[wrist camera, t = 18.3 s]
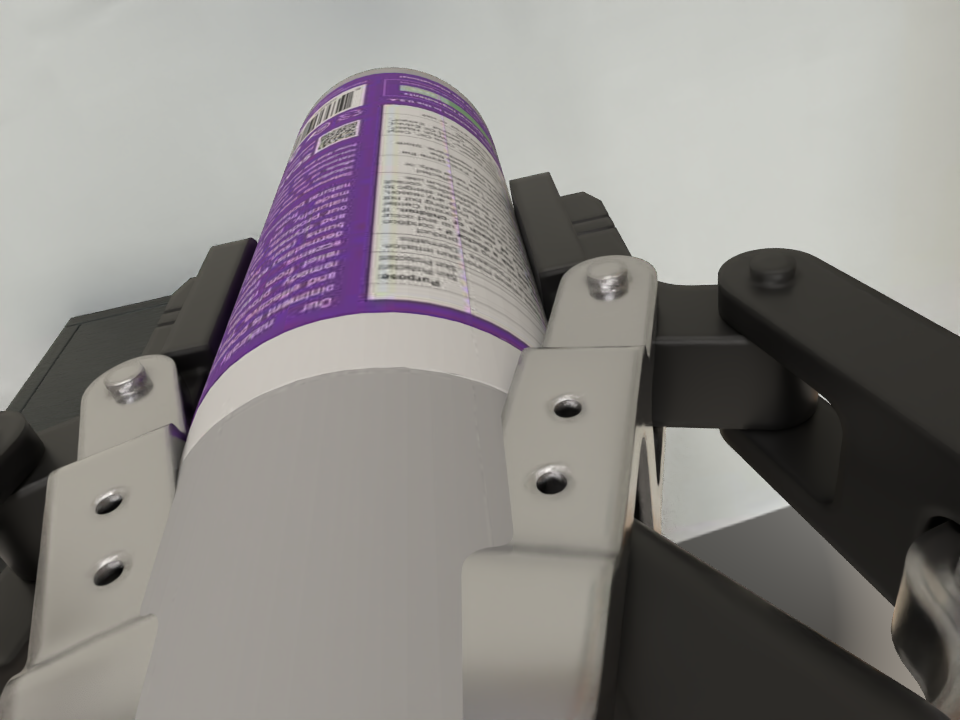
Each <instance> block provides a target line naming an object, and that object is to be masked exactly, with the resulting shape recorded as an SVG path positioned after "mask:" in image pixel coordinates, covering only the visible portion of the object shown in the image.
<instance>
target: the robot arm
mask: <svg viewBox="0 0 960 720" xmlns="http://www.w3.org/2000/svg"><path fill="white" fill-rule="evenodd" d="M509 182H510V190H511V195H512V201H513V206H514V212H515V216H516V219H517V222H518V226H519V229H520V232H521V235H522V239H523V242H524V245H525V249H526V252H527V255H528V259H529V262H530V265H531V269H532V272H533V275H534V279H535V282H536V285H537V289H538V292H539V295H540V299H541V302H542V305H543V309H544V312H545V315H546V318H547V321H548V325H547V329H546V332H545V336H544V339H543V343H542V346H541V347H527V348H524V349H523V351H522V352H521V355H520V357H519V360H518V363H517V366H516V370H515V373H514V376H513V379H512V382H511V385H510V388H509V392H508V395H507V398H506V401H505V404H504V407H503V410H502V413H501V422H502V431H503V440H504V449H505V458H506V467H507V476H508V486H509V495H510V504H511V513H512V522H513V538H512V540H511V541H510V542H509V543H508V544H506V545H503V546H496V547H488V548H484V549H481V550H478V551H475V552H474V553H472V554H471V555H469V556H468V557H467V559H466V560H465V561H464V563H463V566H462V572H461V587H462V677H463V720H960V337H959V336H958V335H956V334H954V333H952V332H950V331H949V330H947V329H945V328H943V327H941V326H940V325H938V324H936V323H934V322H932V321H931V320H929V319H927V318H925V317H923V316H922V315H920V314H918V313H916V312H914V311H913V310H911V309H909V308H907V307H905V306H903V305H902V304H900V303H898V302H896V301H894V300H893V299H891V298H889V297H887V296H885V295H884V294H882V293H880V292H878V291H876V290H875V289H873V288H871V287H869V286H867V285H866V284H864V283H862V282H860V281H858V280H857V279H855V278H853V277H851V276H849V275H848V274H846V273H844V272H842V271H840V270H838V269H837V268H835V267H833V266H831V265H829V264H828V263H826V262H824V261H822V260H820V259H819V258H817V257H815V256H813V255H810V254H808V253H805V252H802V251H797V250H792V249H784V248H766V249H758V250H753V251H748V252H745V253H742V254H739V255H737V256H735V257H733V258H731V259H729V260H728V261H726V262H725V263H724V264H723V265H722V267H721V268H720V270H719V272H718V285H693V286H691V285H673V284H668V283H663V282H660V281H657V272H656V270H655V268H654V267H653V266H652V265H651V264H650V263H648V262H647V261H645V260H643V259H640V258H637V257H632V256H631V254H630V252H629V250H628V249H627V247H626V245H625V243H624V241H623V240H622V238H621V236H620V234H619V232H618V230H617V229H616V228H615V226H614V223H613V221H612V220H611V218H610V217H609V215H608V212H607V211H606V209H605V207H604V205H603V203H602V202H601V200H599V199H597V198H595V197H593V196H591V195H589V194H587V193H585V192H579V193H575V194H570V195H566V196H561V197H560V195H559V193H558V191H557V188H556V186H555V184H554V182H553V179H552V177H551V175H550V173H549V172H546V173H541V174H537V175H532V176H528V177H523V178H519V179H514V180H510V181H509ZM257 244H258V243H257V242H256V240H254V239H253V238H248V239H244V240H239V241H235V242H230V243H226V244H221V245H217V246H212V247H211V248H210V250H209V252H208V254H207V256H206V258H205V260H204V262H203V265H202V267H201V269H200V271H199V273H198V275H197V277H193V278H190V279H189V280H188V281H187V282H186V283H185V284H183V285H182V286H181V287H180V288H179V289H178V290H177V291H176V292H175V293H174V294H173V295H172V296H171V298H170V300H169V302H168V304H167V306H166V308H165V310H164V314H162V315H161V317H160V319H159V321H158V323H157V326H158V327H157V328H155V329H154V331H153V333H152V335H151V337H150V339H149V341H148V343H147V345H146V347H145V349H144V350H143V352H142V354H141V356H140V357H137V358H134V359H131V360H128V361H126V362H123V363H121V364H119V365H117V366H115V367H113V368H111V369H110V370H108V371H106V372H105V373H103V374H102V375H101V376H99V377H98V378H97V379H96V380H94V381H93V382H92V383H91V384H90V385H89V387H88V388H87V389H86V391H85V392H84V394H83V396H82V400H81V411H80V415H79V416H77V417H75V418H72V419H70V420H67V421H65V422H62V423H60V424H57V425H55V426H52V427H50V428H47V429H45V430H42V431H40V432H37V433H36V432H35V431H34V429H33V428H32V427H31V425H30V424H29V423H28V421H27V420H26V419H25V417H24V416H23V415H22V414H21V413H19V412H16V411H0V557H1V558H2V559H3V560H4V561H5V563H6V564H7V566H6V567H5V569H4V570H3V571H2V572H1V574H0V720H135V716H136V712H137V708H138V704H139V700H140V697H141V693H142V689H143V685H144V681H145V677H146V673H147V670H148V666H149V662H150V658H151V654H152V650H153V646H154V642H155V639H156V635H157V630H158V619H157V616H156V615H155V614H148V615H145V616H141V615H140V609H141V605H142V602H143V598H144V595H145V592H146V589H147V585H148V582H149V579H150V576H151V572H152V569H153V566H154V563H155V559H156V556H157V553H158V549H159V546H160V543H161V540H162V536H163V533H164V530H165V527H166V523H167V520H168V517H169V514H170V510H171V507H172V504H173V500H174V497H175V494H176V485H177V476H178V471H179V466H180V460H181V456H182V453H183V449H184V446H185V443H186V440H187V437H188V434H189V430H190V426H191V422H192V419H193V417H194V414H195V411H196V408H197V406H198V403H199V400H200V398H201V395H202V392H203V390H204V387H205V384H206V382H207V379H208V376H209V373H210V371H211V368H212V365H213V363H214V360H215V357H216V355H217V352H218V349H219V346H220V344H221V341H222V338H223V336H224V333H225V330H226V328H227V325H228V322H229V320H230V317H231V314H232V311H233V309H234V306H235V303H236V301H237V298H238V295H239V293H240V290H241V287H242V285H243V282H244V279H245V276H246V274H247V271H248V268H249V266H250V263H251V260H252V258H253V255H254V252H255V249H256V247H257ZM818 393H819V394H821V395H822V396H823V397H824V398H826V399H827V400H828V402H829V403H830V404H831V405H830V404H829V403H828V402H827V401H825V400H824V399H823V398H821V397H820V396H819V395H818ZM666 427H685V428H718V429H719V430H720V433H721V435H722V437H723V439H724V440H725V441H726V442H727V443H728V444H729V445H730V446H731V447H732V448H733V449H734V450H735V451H736V452H737V453H738V454H739V455H740V456H741V457H742V458H743V459H744V460H745V461H746V462H747V463H748V464H749V465H750V466H751V467H752V468H753V469H754V470H755V471H756V472H757V473H758V474H759V475H760V476H761V477H762V478H763V479H764V480H765V481H766V482H767V483H768V484H769V485H770V486H771V487H772V488H773V489H774V490H776V491H777V492H778V493H779V494H780V495H781V496H782V497H783V498H784V499H785V500H786V501H787V502H788V503H789V504H790V505H791V506H792V507H793V508H794V509H795V510H796V511H797V512H798V513H799V514H800V515H801V516H802V517H803V518H804V519H805V520H806V521H807V522H808V523H809V524H810V525H811V526H812V527H813V528H814V529H815V530H816V531H817V532H819V534H820V535H822V536H823V537H824V538H825V539H826V540H827V541H828V542H829V543H830V544H831V545H832V546H833V547H834V548H835V549H836V550H837V551H838V552H839V553H840V554H841V555H842V556H843V557H844V558H845V559H846V560H847V561H848V562H849V563H850V564H851V565H852V566H853V567H854V568H855V569H856V570H857V571H858V572H859V573H860V574H861V575H862V576H863V577H864V578H865V579H866V580H868V582H869V583H870V584H872V585H873V586H874V587H875V588H876V589H877V590H878V591H879V592H880V593H881V594H882V595H883V596H884V597H885V598H886V599H887V600H888V601H889V602H890V603H891V604H892V605H893V606H894V607H895V609H894V613H893V618H892V625H891V634H892V641H893V643H894V646H895V649H896V652H897V653H898V655H899V657H900V659H901V661H902V662H903V664H904V665H905V666H906V668H907V669H908V670H909V672H910V673H911V674H912V676H913V677H914V678H915V680H916V681H917V682H918V684H919V686H920V688H921V689H922V691H923V693H924V695H925V698H926V700H925V699H923V698H922V697H920V696H919V695H917V694H916V693H914V692H912V691H911V690H909V689H908V688H906V687H905V686H903V685H901V684H900V683H898V682H897V681H895V680H893V679H892V678H890V677H889V676H887V675H885V674H884V673H882V672H880V671H879V670H877V669H876V668H874V667H872V666H871V665H869V664H868V663H866V662H864V661H863V660H861V659H860V658H858V657H856V656H855V655H853V654H852V653H850V652H848V651H847V650H845V649H844V648H842V647H840V646H839V645H837V644H836V643H834V642H832V641H831V640H829V639H827V638H826V637H824V636H823V635H821V634H819V633H818V632H816V631H815V630H813V629H811V628H810V627H808V626H807V625H805V624H803V623H802V622H800V621H798V620H797V619H795V618H794V617H792V616H791V615H789V614H787V613H786V612H784V611H783V610H781V609H779V608H778V607H776V606H775V605H773V604H771V603H770V602H768V601H767V600H765V599H763V598H762V597H760V596H759V595H757V594H755V593H754V592H752V591H751V590H749V589H747V588H746V587H744V586H742V585H741V584H739V583H737V582H736V581H734V580H733V579H731V578H730V577H728V576H726V575H725V574H723V573H721V572H720V571H718V570H717V569H715V568H713V567H712V566H710V565H709V564H707V563H706V562H704V561H702V560H701V559H699V558H698V557H696V556H694V555H693V554H691V553H690V552H688V551H686V550H685V549H683V548H682V547H680V546H678V545H677V544H675V543H674V542H672V541H670V540H669V539H667V538H666V537H664V536H662V535H661V505H662V488H663V472H664V456H665V440H666Z"/></svg>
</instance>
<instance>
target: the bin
mask: <svg viewBox="0 0 960 720" xmlns="http://www.w3.org/2000/svg"><path fill="white" fill-rule="evenodd" d="M171 296H172V295H171ZM171 296H166V297H162V298H158V299H153V300H149V301H145V302H140V303H136V304H131V305H127V306H123V307H118V308H114V309H110V310H105V311H101V312H96V313H92V314H88V315H83V316H79V317H75V318H71V319H70V320H69V321H68V323H67V324H66V326H65V328H64V329H63V330H62V332H61V333H60V334H59V336H58V337H57V339H56V340H55V341H54V343H53V344H52V346H51V347H50V348H49V350H48V351H47V353H46V354H45V356H44V357H43V358H42V360H41V361H40V363H39V364H38V365H37V367H36V368H35V370H34V371H33V372H32V374H31V375H30V377H29V378H28V380H27V381H26V382H25V384H24V385H23V387H22V388H21V389H20V391H19V392H18V394H17V395H16V396H15V398H14V399H13V401H12V402H11V404H10V405H9V406H8V408H7V409H6V411H16V412H19V413H21V414H22V415H23V416H24V417H25V419H26V420H27V421H28V423H29V424H30V425H31V427H32V428H33V429H34V431H35V432H36V433H37V432H40V431H42V430H45V429H47V428H50V427H52V426H55V425H57V424H60V423H62V422H65V421H67V420H70V419H72V418H75V417H77V416H79V415H80V411H81V400H82V396H83V394H84V392H85V391H86V389H87V388H88V387H89V385H90V384H91V383H92V382H93V381H94V380H96V379H97V378H98V377H99V376H101V375H102V374H103V373H105V372H106V371H108V370H110V369H111V368H113V367H115V366H117V365H119V364H121V363H123V362H126V361H128V360H131V359H134V358H137V357H140V356H141V354H142V352H143V350H144V349H145V347H146V345H147V343H148V341H149V339H150V337H151V335H152V333H153V331H154V329H155V328H157V327H158V326H157V323H158V321H159V319H160V317H161V315H162V314H164V310H165V308H166V306H167V304H168V302H169V300H170V298H171ZM6 566H7V564H6V563H5V561H4V560H3V559H2V558H1V557H0V574H1V572H2V571H3V570H4V569H5V567H6Z"/></svg>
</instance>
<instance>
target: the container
mask: <svg viewBox="0 0 960 720" xmlns="http://www.w3.org/2000/svg"><path fill="white" fill-rule="evenodd" d="M547 325H548V321H547V318H546V315H545V312H544V309H543V305H542V302H541V299H540V295H539V292H538V289H537V285H536V282H535V279H534V275H533V272H532V269H531V265H530V262H529V259H528V255H527V252H526V249H525V245H524V242H523V239H522V235H521V232H520V229H519V226H518V222H517V219H516V216H515V212H514V208H513V205H512V202H511V198H510V195H509V192H508V188H507V185H506V182H505V179H504V175H503V172H502V169H501V165H500V162H499V159H498V155H497V152H496V149H495V146H494V143H493V140H492V138H491V135H490V133H489V130H488V128H487V126H486V124H485V122H484V120H483V118H482V117H481V115H480V114H479V112H478V111H477V110H476V108H475V107H474V106H473V104H472V103H471V102H470V101H469V100H468V99H467V98H466V97H465V96H464V95H463V94H462V93H460V92H459V91H458V90H457V89H455V88H454V87H452V86H451V85H450V84H448V83H446V82H445V81H443V80H441V79H439V78H437V77H435V76H432V75H430V74H427V73H424V72H421V71H417V70H412V69H407V68H396V67H393V68H378V69H372V70H367V71H364V72H361V73H358V74H355V75H353V76H350V77H348V78H346V79H344V80H343V81H341V82H339V83H338V84H336V85H335V86H333V87H332V88H331V89H329V90H328V91H327V92H326V93H325V94H324V95H323V96H322V97H321V98H320V99H319V100H318V101H317V102H316V103H315V105H314V106H313V107H312V109H311V110H310V112H309V113H308V115H307V117H306V119H305V121H304V123H303V125H302V127H301V129H300V132H299V134H298V136H297V139H296V142H295V144H294V147H293V150H292V153H291V155H290V158H289V161H288V163H287V166H286V169H285V171H284V174H283V177H282V179H281V182H280V185H279V188H278V190H277V193H276V196H275V198H274V201H273V204H272V206H271V209H270V212H269V214H268V217H267V220H266V223H265V225H264V228H263V231H262V233H261V236H260V239H259V241H258V244H257V247H256V249H255V252H254V255H253V258H252V260H251V263H250V266H249V268H248V271H247V274H246V276H245V279H244V282H243V285H242V287H241V290H240V293H239V295H238V298H237V301H236V303H235V306H234V309H233V311H232V314H231V317H230V320H229V322H228V325H227V328H226V330H225V333H224V336H223V338H222V341H221V344H220V346H219V349H218V352H217V355H216V357H215V360H214V363H213V365H212V368H211V371H210V373H209V376H208V379H207V382H206V384H205V387H204V390H203V392H202V395H201V398H200V400H199V403H198V406H197V408H196V411H195V414H194V417H193V419H192V422H191V426H190V430H189V434H188V437H187V440H186V443H185V446H184V449H183V453H182V456H181V460H180V466H179V471H178V476H177V485H176V494H175V497H174V500H173V504H172V507H171V510H170V514H169V517H168V520H167V523H166V527H165V530H164V533H163V536H162V540H161V543H160V546H159V549H158V553H157V556H156V559H155V563H154V566H153V569H152V572H151V576H150V579H149V582H148V585H147V589H146V592H145V595H144V598H143V602H142V605H141V609H140V615H141V616H145V615H148V614H155V615H156V616H157V619H158V630H157V635H156V639H155V642H154V646H153V650H152V654H151V658H150V662H149V666H148V670H147V673H146V677H145V681H144V685H143V689H142V693H141V697H140V700H139V704H138V708H137V712H136V716H135V720H463V677H462V587H461V572H462V566H463V563H464V561H465V560H466V559H467V557H468V556H469V555H471V554H472V553H474V552H475V551H478V550H481V549H484V548H488V547H496V546H503V545H506V544H508V543H509V542H510V541H511V540H512V538H513V522H512V513H511V504H510V495H509V486H508V476H507V467H506V458H505V449H504V440H503V431H502V422H501V413H502V410H503V407H504V404H505V401H506V398H507V395H508V392H509V388H510V385H511V382H512V379H513V376H514V373H515V370H516V366H517V363H518V360H519V357H520V355H521V352H522V351H523V349H524V348H527V347H541V346H542V343H543V339H544V336H545V332H546V329H547Z"/></svg>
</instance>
